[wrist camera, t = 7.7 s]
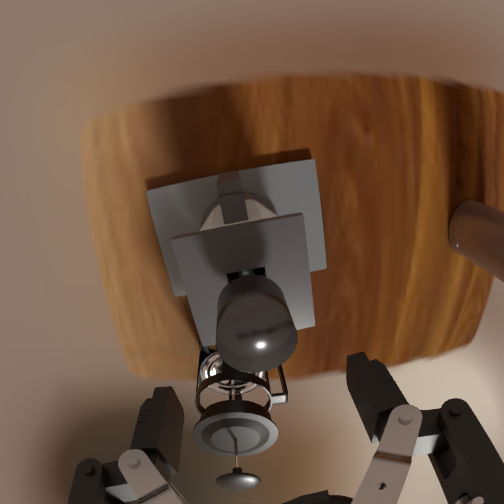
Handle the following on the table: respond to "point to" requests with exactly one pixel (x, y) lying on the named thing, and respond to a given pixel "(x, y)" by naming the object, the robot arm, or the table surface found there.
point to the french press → (234, 416)
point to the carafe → (243, 254)
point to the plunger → (254, 324)
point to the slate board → (253, 181)
